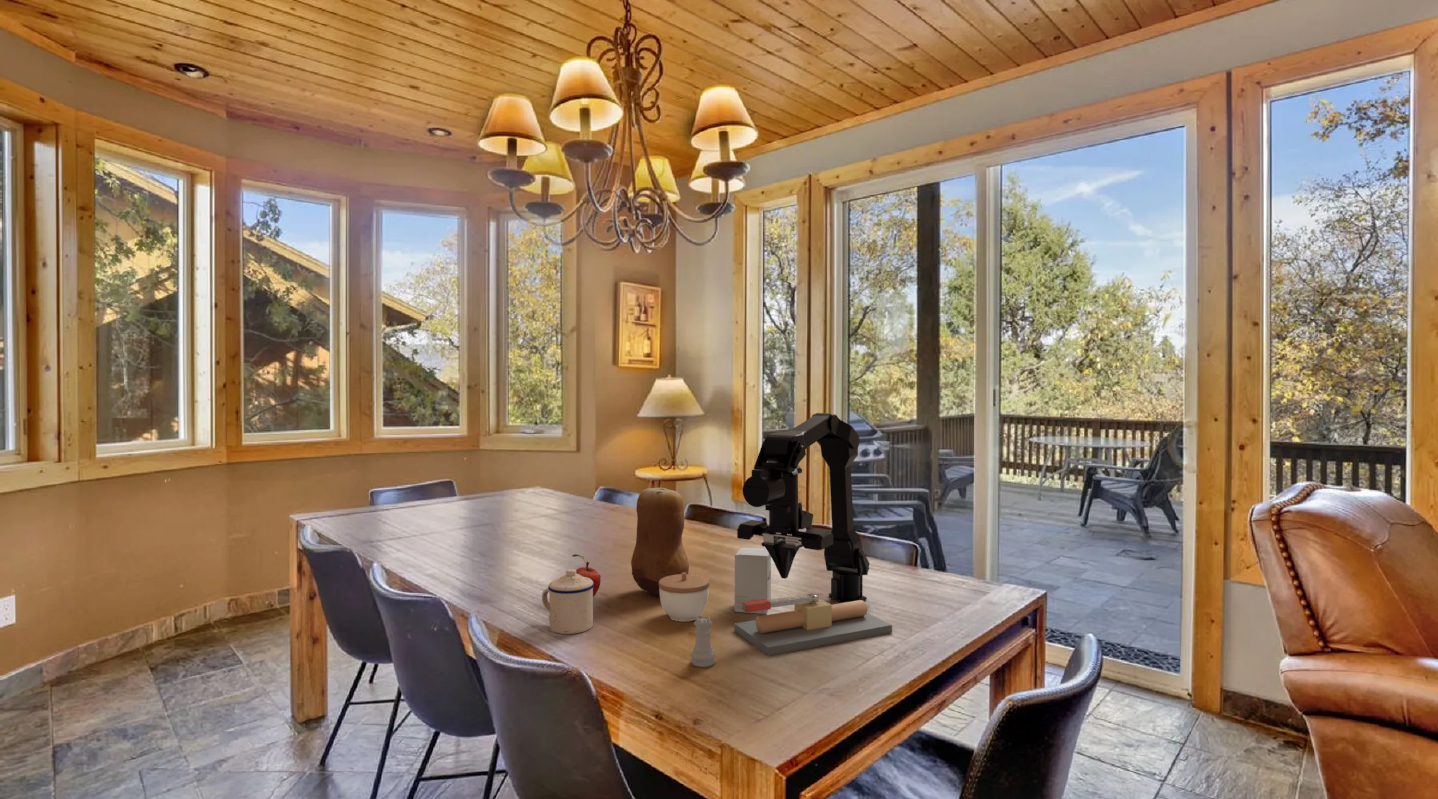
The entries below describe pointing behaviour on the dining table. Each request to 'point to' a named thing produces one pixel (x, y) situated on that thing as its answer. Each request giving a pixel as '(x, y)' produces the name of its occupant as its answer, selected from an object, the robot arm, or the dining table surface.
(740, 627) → the valve body
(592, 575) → the apple
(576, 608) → the teacup with lid
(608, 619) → the dining table surface
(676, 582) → the lidded jar
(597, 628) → the dining table surface
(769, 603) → the valve lever
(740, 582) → the supplement box
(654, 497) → the butternut squash
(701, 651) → the rook chess piece
